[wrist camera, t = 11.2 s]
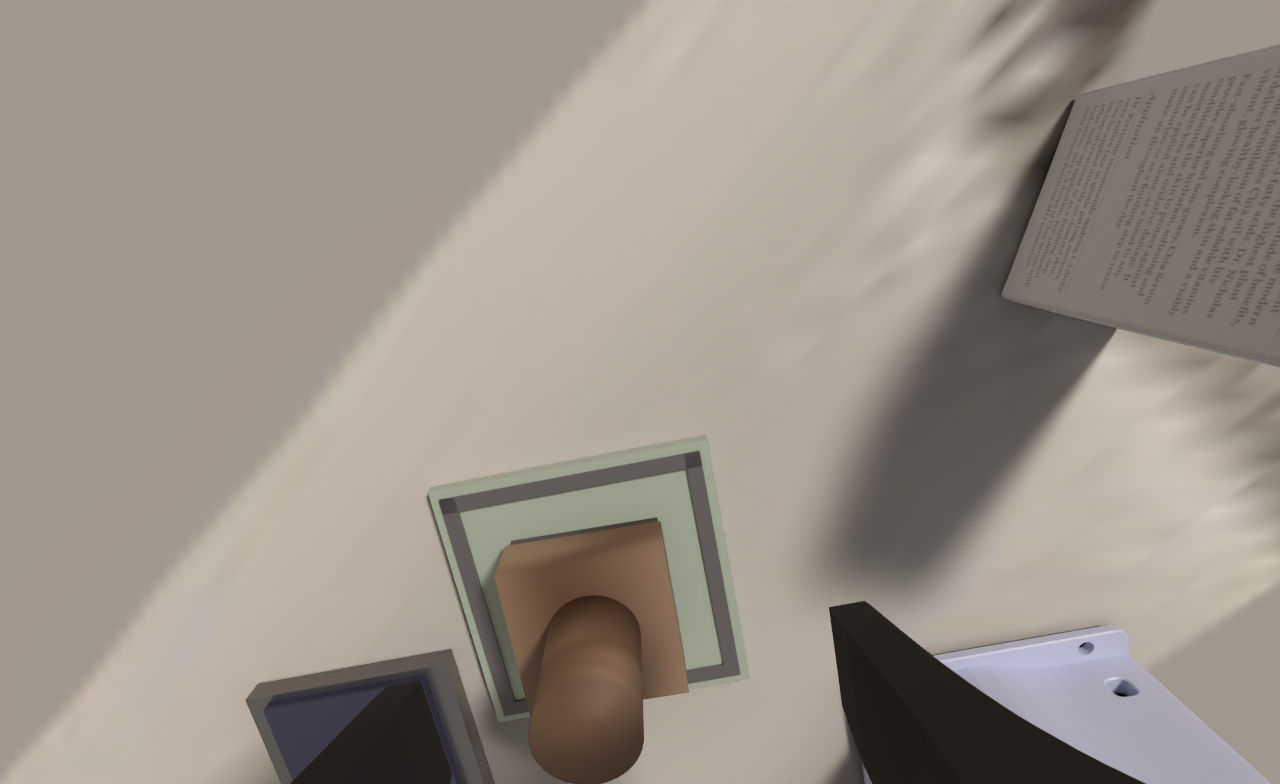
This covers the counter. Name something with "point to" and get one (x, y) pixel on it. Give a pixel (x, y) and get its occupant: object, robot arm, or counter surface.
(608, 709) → the stamp
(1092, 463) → the counter surface
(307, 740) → the ink pad
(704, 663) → the pale green flat square
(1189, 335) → the skincare box
